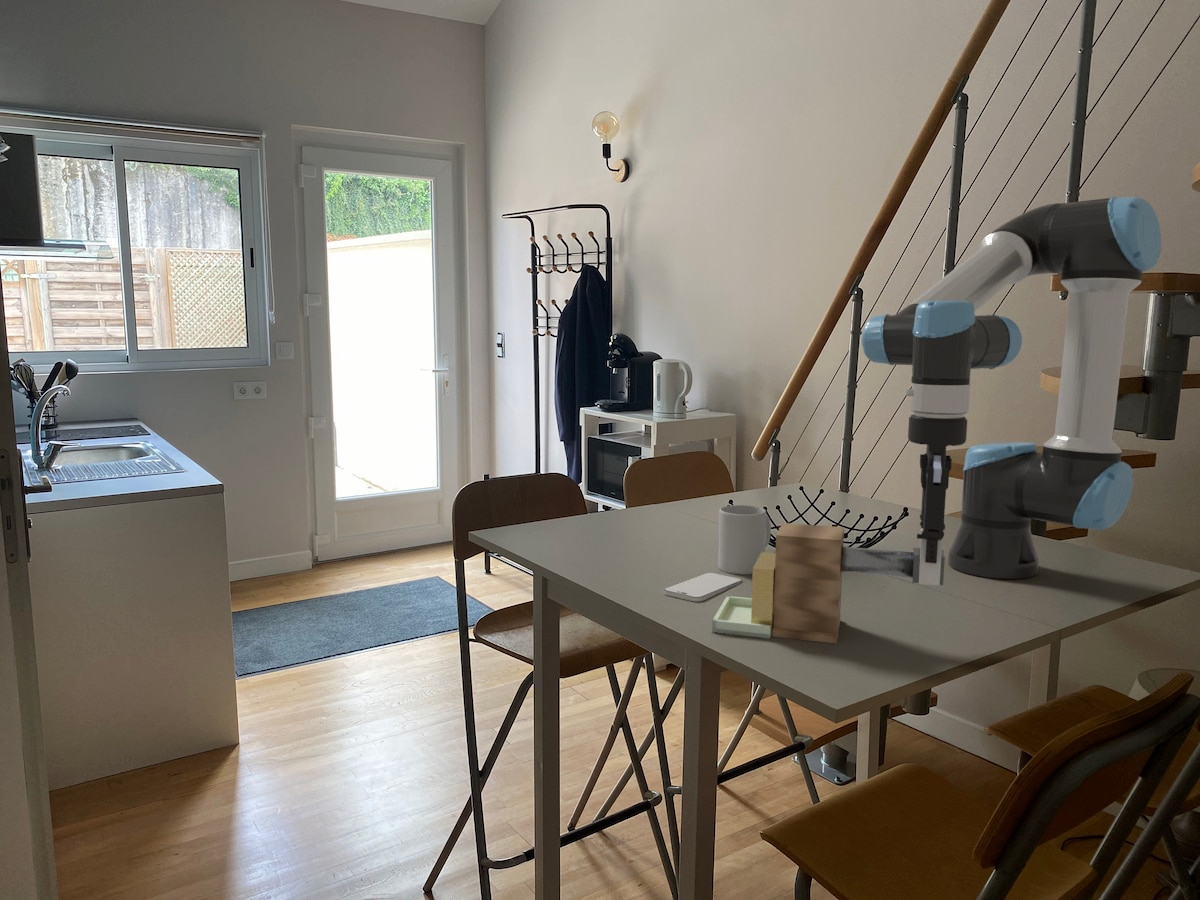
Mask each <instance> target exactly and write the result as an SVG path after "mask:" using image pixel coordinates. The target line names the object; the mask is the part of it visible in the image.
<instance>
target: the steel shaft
mask: <svg viewBox="0 0 1200 900" xmlns="http://www.w3.org/2000/svg"><path fill="white" fill-rule="evenodd" d="M920 550H921V548H919V547H913V549H912V551H904V550H903V551H901V550H892V549H891V550H889V549H878V548H877V549H876V548H865V547H864V548H863V547H854V546H853V547H850V546H843V547H841V568H840V571H841V572H842V573H854V574H855V573H856V574H865V575H874V576H875V575H877V576H878V575H880V576H887V577H888V576H889V577H900V578H901V577H902V578H910V579H912V584H913V583H914V584H919V567H920ZM945 560H946V558H945V552H944V549H942V554H941V570H940V586H944V575H945Z"/></svg>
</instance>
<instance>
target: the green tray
mask: <svg viewBox="0 0 1200 900" xmlns="http://www.w3.org/2000/svg"><path fill="white" fill-rule="evenodd" d="M751 613H752V597H741V596H732V595H731V596H730V595H726V597H725V598H724V600H723V602H722V604H721V605H720V607H719V609H718V610H717V612H716V613H715V615H714V617H713V619H712V622H711V623H712V624H711V629H712V630H711V632H712V633H715V632H717V633H716V634H724V633H725V634H724V635H733V634H734V635H733V636H743V637H753V638H762V639H771V637H772V631H771V625H764V624H754V623H751Z"/></svg>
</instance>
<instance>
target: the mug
mask: <svg viewBox="0 0 1200 900" xmlns="http://www.w3.org/2000/svg"><path fill="white" fill-rule="evenodd" d="M718 510H719V511H718V513H719V515H718V550H717V551H718V555H717V567H718V569H719V570H720V571H722V572H725V573H727V574H731V575H732V574H733V575H744V576H745V575H753V567H754V565H755V563H756V561H757V560H758V558H759V556H760V554H761V552H766V548H767V546H768V545H769V544H770V539H771V534H772V532H771V530H772V527H771V526H772V525H771V519H770V516H768V514H767V511H766V509H765V508H763V507H759V506H755V505H746V504H745V505H744V504H734V505H733V504H731V505H726V506H722V507H721V508H719V509H718Z"/></svg>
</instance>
